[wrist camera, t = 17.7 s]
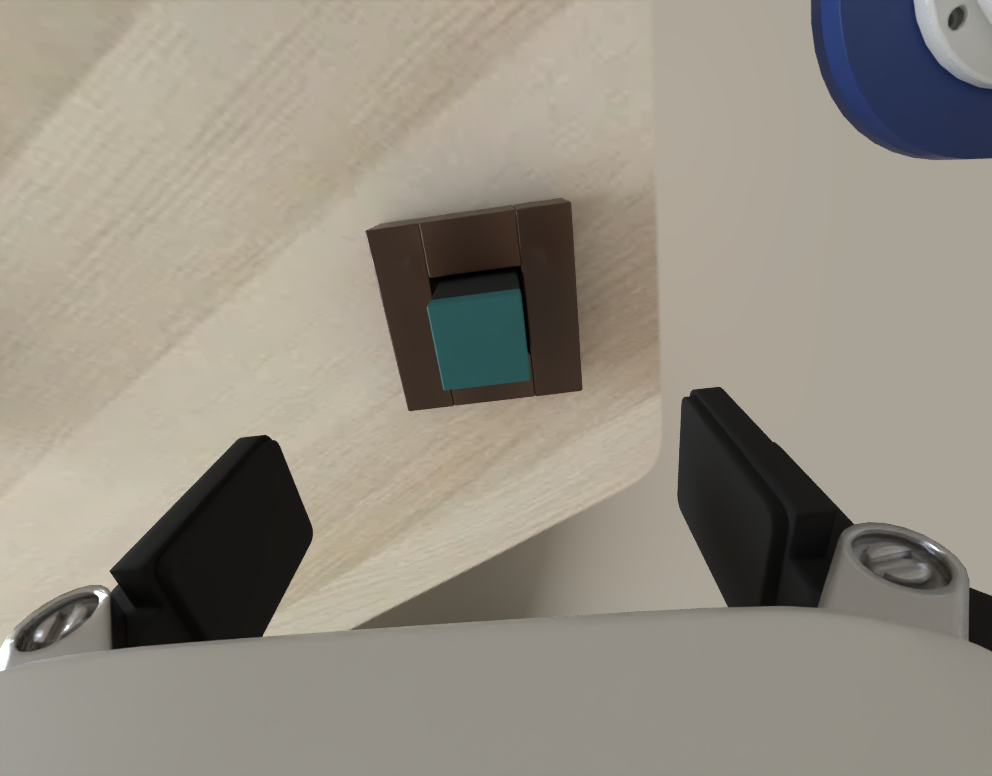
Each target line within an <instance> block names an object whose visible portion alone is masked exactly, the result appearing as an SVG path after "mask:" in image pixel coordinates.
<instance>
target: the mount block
mask: <svg viewBox="0 0 992 776" xmlns="http://www.w3.org/2000/svg"><path fill="white" fill-rule="evenodd" d="M365 233H366V237H367V241H368V246H369V250H370V254H371V258H372V262H373V266H374V270H375V274H376V279H377V283H378V287H379V291H380V295H381V299H382V303H383V307H384V312H385V316H386V320H387V324H388V328H389V332H390V336H391V340H392V345H393V349H394V353H395V357H396V361H397V365H398V369H399V374H400V378H401V382H402V386H403V390H404V394H405V398H406V402H407V407H408V410H409V411H414V410H423V409H431V408H440V407H448V406H454V405H464V404H472V403H481V402H489V401H498V400H506V399H515V398H523V397H532V396H535V395H536V396H541V395H549V394H558V393H566V392H575V391H582V375H581V359H580V342H579V325H578V309H577V292H576V275H575V259H574V242H573V225H572V209H571V202H569V201H567V200H565V199H563V198H558V199H551V200H544V201H537V202H530V203H523V204H516V205H514V207H513V205H509V206H502V207H495V208H488V209H481V210H474V211H467V212H460V213H453V214H446V215H439V216H432V217H428V218H426V217H425V218H418V219H411V220H404V221H397V222H390V223H383V224H379V225H377V226H375V227H373V228H371V229H368V230H366V231H365ZM515 266H520V271H521V280H522V289H523V298H524V307H525V317H526V326H527V335H528V336H527V335H526V342H527V351H528V360H529V369H530V378H531V379H530V380H529V381H521V382H513V383H505V384H496V385H488V386H480V387H471V388H463V389H455V390H446V391H444V389H443V385H442V380H441V375H440V370H439V365H438V360H437V355H436V350H435V345H434V340H433V335H432V330H431V325H430V320H429V315H428V310H427V306H428V304H429V302H430V301H431V298H432V296H433V294H434V292H435V291H436V289H437V287H438V285H439V277H441V276H448V275H456V274H463V273H470V272H478V271H485V270H493V269H500V268H508V267H515Z"/></svg>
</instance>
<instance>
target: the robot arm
mask: <svg viewBox="0 0 992 776" xmlns="http://www.w3.org/2000/svg"><path fill="white" fill-rule="evenodd" d="M914 7H915V14H916V20H917V23H918V25H919V28H920V31H921V33H922V36H923V39H924V41H925V44H926V46H927V47H928V48H929V50H930V51H931V53H932V54H933V56H934V57H935V58H936V60H937V61H938V63H939V64H940V65H941V66H942V67H944V68H945V69H946V70H947V71H949V72H950V73H951V74H952V75H954V76H955V77H956V78H957V79H960V80H962V81H964V82H967V83H969V84H972V85H974V86H977V87H979V88H987V89H992V0H914ZM680 428H681V429H680V448H679V470H678V471H679V473H678V492H677V495H678V503H679V507H680V510H681V512H682V514H683V516H684V518H685V520H686V522H687V524H688V526H689V529H690V531H691V533H692V535H693V537H694V539H695V541H696V542H697V545H698V547H699V549H700V551H701V553H702V555H703V557H704V559H705V561H706V563H707V565H708V567H709V569H710V571H711V573H712V575H713V577H714V579H715V581H716V583H717V585H718V587H719V590H720V592H721V594H722V596H723V598H724V600H725V602H726V604H727V606H728V607H723V608H696V609H679V610H661V611H642V612H623V613H607V614H592V615H575V616H559V617H544V618H529V619H528V618H527V619H512V620H496V621H481V622H466V623H451V624H437V625H422V626H408V627H393V628H378V629H366V630H365V629H364V630H350V631H335V632H322V633H308V634H295V635H282V636H268V637H262V636H263V634H264V632H265V630H266V628H267V626H268V624H269V622H270V621H271V619H272V617H273V615H274V613H275V611H276V609H277V607H278V605H279V603H280V601H281V599H282V597H283V596H284V594H285V592H286V590H287V588H288V586H289V584H290V582H291V580H292V578H293V576H294V574H295V572H296V571H297V569H298V567H299V565H300V563H301V561H302V559H303V557H304V555H305V553H306V551H307V549H308V547H309V546H310V544H311V541H312V537H313V529H312V525H311V523H310V520H309V518H308V515H307V513H306V510H305V508H304V505H303V503H302V500H301V498H300V495H299V493H298V490H297V488H296V485H295V483H294V480H293V478H292V475H291V473H290V470H289V468H288V465H287V463H286V460H285V458H284V455H283V453H282V450H281V448H280V446H279V444H278V442H277V441H275V440H272V439H271V438H270V437H269V436H267V435H261V436H251V437H242V438H239V439H238V440H237V441H236V442H235V443H234V444H233V445H232V446H231V447H230V448H229V449H228V450H227V451H226V452H225V453H224V454H223V455H222V456H221V457H220V458H219V459H218V460H217V461H216V462H215V463H214V464H213V465H212V466H211V467H210V468H209V469H208V470H207V472H206V473H205V474H204V475H203V476H202V477H201V478H200V479H199V480H198V481H197V482H196V483H195V484H194V485H193V486H192V487H191V488H190V489H189V490H188V491H187V492H186V493H185V494H184V495H183V496H182V497H181V498H180V499H179V500H178V501H177V502H176V503H175V504H174V505H173V506H172V507H171V508H170V509H169V510H168V511H167V512H166V513H165V515H164V516H163V517H162V518H161V519H160V520H159V521H158V522H157V523H156V524H155V525H154V526H153V527H152V528H151V529H150V530H149V531H148V532H147V533H146V534H145V535H144V536H143V537H142V538H141V539H140V540H139V541H138V542H137V543H136V544H135V545H134V546H133V547H132V548H131V549H130V550H129V551H128V552H127V553H126V554H125V555H124V556H123V558H122V559H121V560H120V561H119V562H118V563H117V564H116V565H115V566H114V567H113V568H112V569H111V570H110V573H111V574H112V575H113V577H114V578H115V580H116V581H117V583H118V585H117V586H116V587H115V588H114V589H113V590H112V592H110V591H109V589H108V588H106V587H104V586H102V585H89V586H85V587H81V588H77V589H74V590H72V591H69V592H67V593H64V594H62V595H60V596H58V597H56V598H54V599H53V600H51V601H49V602H47V603H45V604H44V605H42V606H41V607H40V608H38V609H37V610H35V611H34V612H32V613H31V614H30V615H28V616H27V617H26V618H25V619H24V620H23V621H22V622H21V623H19V624H18V625H17V626H16V627H15V629H14V630H13V631H12V632H11V633H10V634H9V636H8V637H7V638H6V640H5V643H4V645H3V647H2V649H1V653H0V776H992V596H990V595H988V594H985V593H983V592H980V591H977V590H975V589H972V588H969V578H968V574H967V571H966V568H965V567H964V566H963V564H962V563H961V562H960V560H959V559H958V558H957V557H956V556H955V555H954V554H952V553H951V552H950V551H949V550H948V549H946V548H945V547H944V546H942V545H941V544H940V543H938V542H936V541H934V540H932V539H930V538H929V537H927V536H925V535H923V534H920V533H918V532H915V531H912V530H910V529H907V528H904V527H900V526H895V525H891V524H885V523H872V522H868V523H861V524H853V523H852V522H851V521H850V519H848V518H847V516H846V515H845V514H844V513H843V512H842V511H841V510H840V509H839V508H838V507H837V506H836V505H835V504H834V503H833V502H832V501H831V499H829V497H828V496H827V495H826V494H825V493H824V492H823V491H822V490H821V489H820V488H819V487H818V486H817V485H816V484H815V483H814V482H813V481H812V479H811V478H810V477H809V476H808V475H807V474H806V473H805V472H804V471H803V470H802V469H801V468H800V467H799V466H798V465H797V464H796V463H795V462H794V461H793V460H792V458H790V456H789V455H788V454H787V453H786V452H785V451H784V450H783V449H782V448H781V447H780V446H779V445H777V444H776V443H775V442H772V441H771V440H770V439H769V438H768V437H767V435H766V434H765V433H763V431H762V430H761V429H760V428H759V427H758V426H757V425H756V424H755V423H754V422H753V421H752V420H751V419H750V418H749V416H748V415H747V414H746V413H745V412H744V411H743V410H742V409H741V408H740V407H739V406H738V405H737V404H736V403H735V402H734V400H733V399H732V398H731V397H730V396H729V395H728V394H727V393H726V392H725V391H724V390H723V389H722V388H721V387H714V388H705V389H695V390H692V391H691V393H690V397H684V398H683V400H682V406H681V427H680Z"/></svg>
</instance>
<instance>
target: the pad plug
mask: <svg viewBox="0 0 992 776" xmlns="http://www.w3.org/2000/svg"><path fill="white" fill-rule="evenodd" d="M427 310H428V315H429V320H430V325H431V330H432V335H433V340H434V345H435V350H436V355H437V360H438V365H439V370H440V375H441V380H442V385H443V389H444V391H446V390H455V389H463V388H471V387H480V386H488V385H496V384H505V383H513V382H521V381H529V380H530V379H531V378H530V369H529V360H528V351H527V342H526V333H525V324H524V315H523V306H522V297H521V291H520V286H519V281H518V276H517V270H516V266H515V267H508V268H500V269H493V270H485V271H478V272H470V273H463V274H456V275H448V276H443V277H442V279H441V281H440V283H439V285H438V287H437V289H436V291H435V292H434V294H433V296H432V298H431V301H430V302H429V304H428V306H427Z"/></svg>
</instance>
